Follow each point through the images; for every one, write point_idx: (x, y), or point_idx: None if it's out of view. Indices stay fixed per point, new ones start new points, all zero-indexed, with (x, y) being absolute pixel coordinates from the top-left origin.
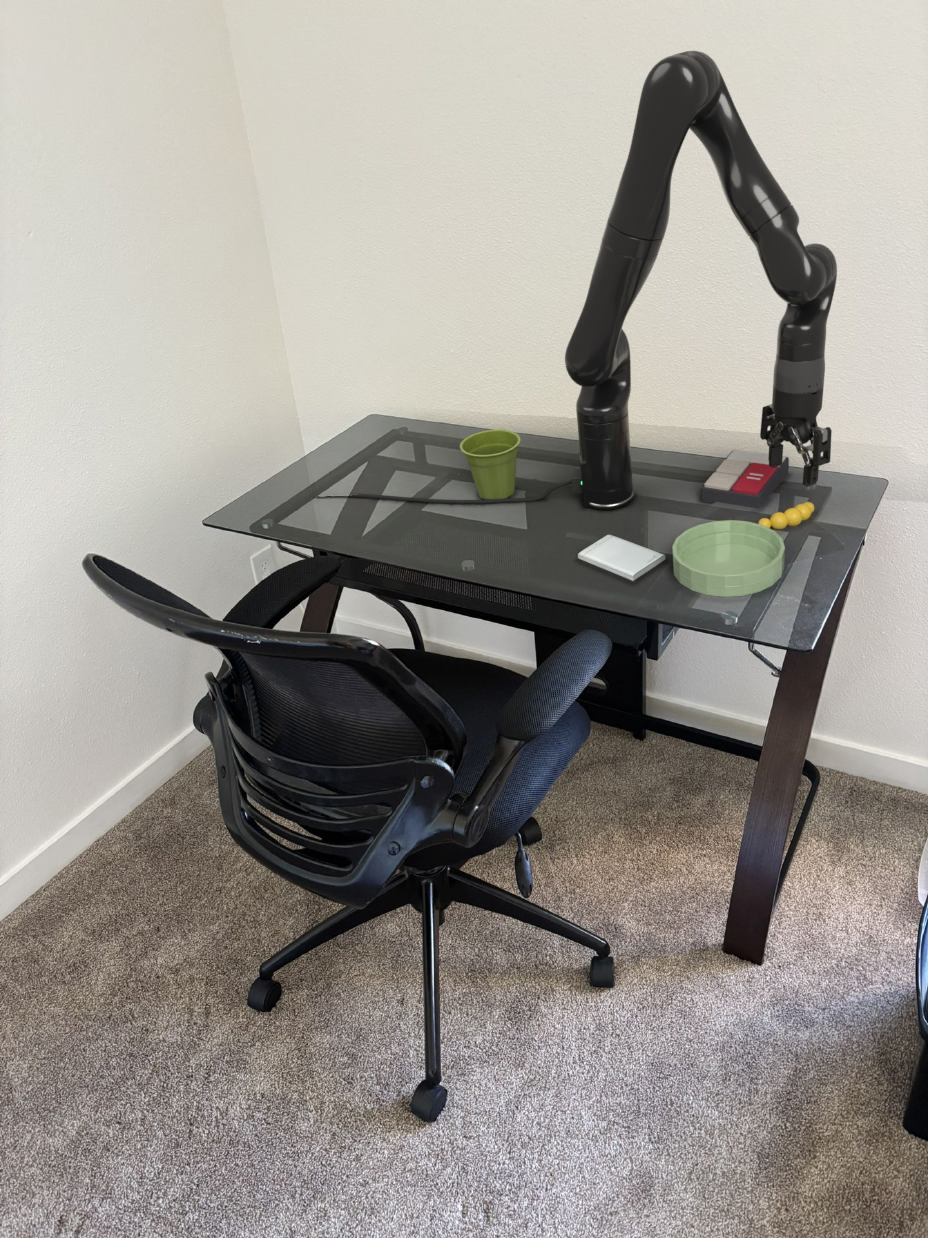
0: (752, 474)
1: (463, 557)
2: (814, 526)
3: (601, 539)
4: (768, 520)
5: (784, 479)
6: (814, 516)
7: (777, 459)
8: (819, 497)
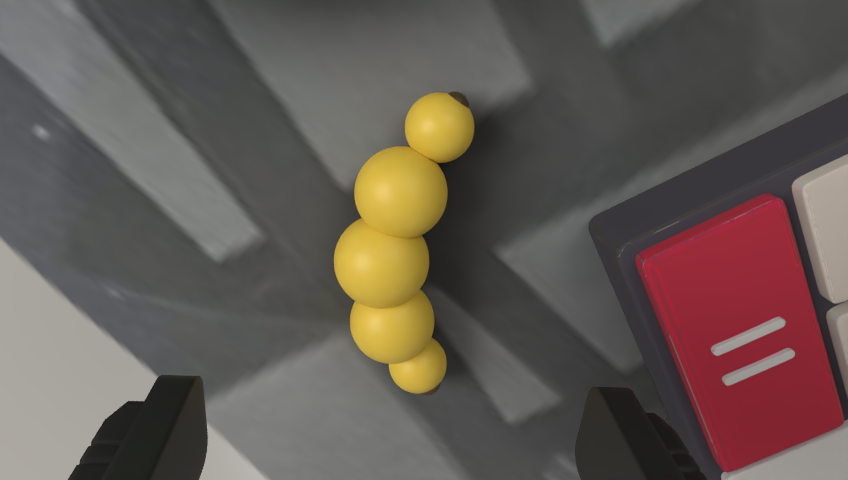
0: (775, 355)
1: None
2: (311, 302)
3: None
4: (423, 144)
5: None
6: None
7: (602, 468)
8: (482, 450)
